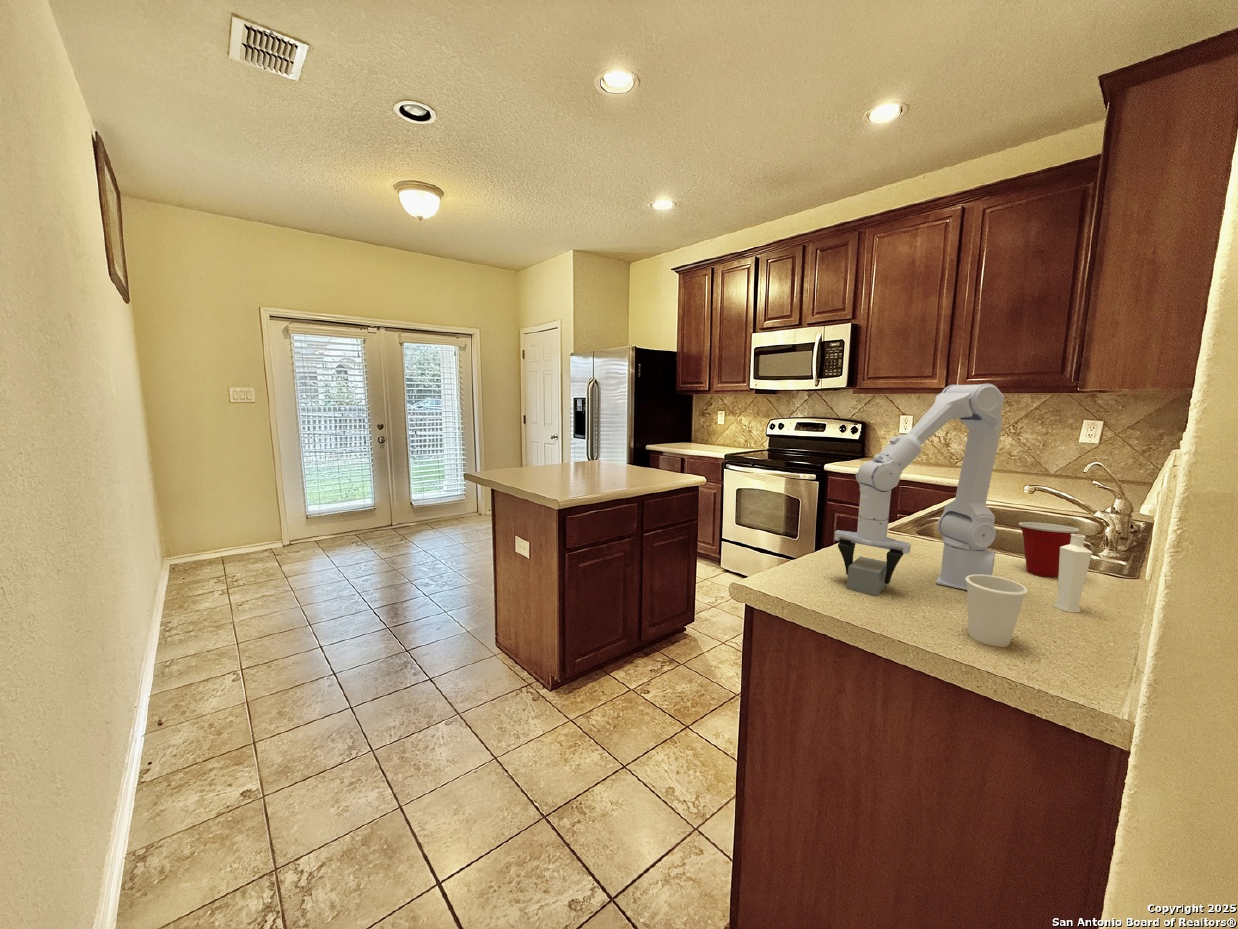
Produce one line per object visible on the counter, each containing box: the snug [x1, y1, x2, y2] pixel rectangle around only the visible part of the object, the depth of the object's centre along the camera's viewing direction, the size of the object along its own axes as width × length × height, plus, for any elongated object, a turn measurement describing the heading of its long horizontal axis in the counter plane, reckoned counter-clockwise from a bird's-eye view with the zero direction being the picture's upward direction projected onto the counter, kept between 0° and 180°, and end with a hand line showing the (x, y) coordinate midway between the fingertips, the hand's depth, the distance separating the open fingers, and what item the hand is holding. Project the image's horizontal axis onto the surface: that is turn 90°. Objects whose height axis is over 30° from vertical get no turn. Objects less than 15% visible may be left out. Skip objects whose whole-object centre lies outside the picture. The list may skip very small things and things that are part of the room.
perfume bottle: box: [1053, 533, 1093, 613], centre depth 95 cm, size 5×4×15 cm
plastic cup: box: [1018, 521, 1080, 578], centre depth 115 cm, size 11×11×12 cm
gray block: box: [846, 555, 888, 597], centre depth 106 cm, size 6×9×5 cm, turn 139°
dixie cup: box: [966, 574, 1029, 648], centre depth 83 cm, size 8×8×10 cm
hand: (867, 578), depth 106 cm, fingers open, 7 cm apart
